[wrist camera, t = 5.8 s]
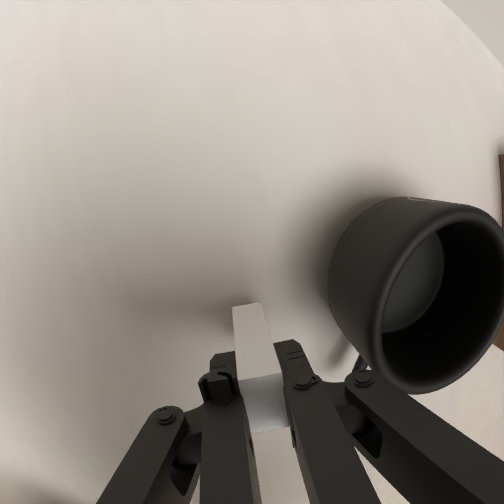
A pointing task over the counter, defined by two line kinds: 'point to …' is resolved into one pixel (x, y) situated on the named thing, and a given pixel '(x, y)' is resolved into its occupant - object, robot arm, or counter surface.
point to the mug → (419, 290)
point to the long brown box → (503, 336)
